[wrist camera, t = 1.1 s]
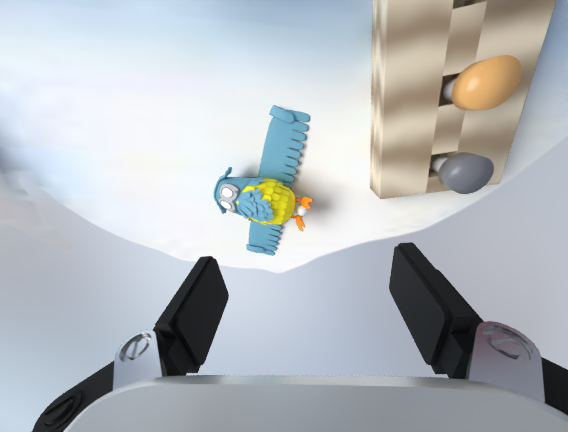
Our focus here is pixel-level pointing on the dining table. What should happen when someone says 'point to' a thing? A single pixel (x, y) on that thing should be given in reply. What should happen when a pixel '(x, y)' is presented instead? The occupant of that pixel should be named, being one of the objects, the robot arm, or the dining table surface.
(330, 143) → the dining table surface
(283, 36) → the dining table surface
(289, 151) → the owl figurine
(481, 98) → the knob mid
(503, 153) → the console
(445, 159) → the knob
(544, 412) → the robot arm
